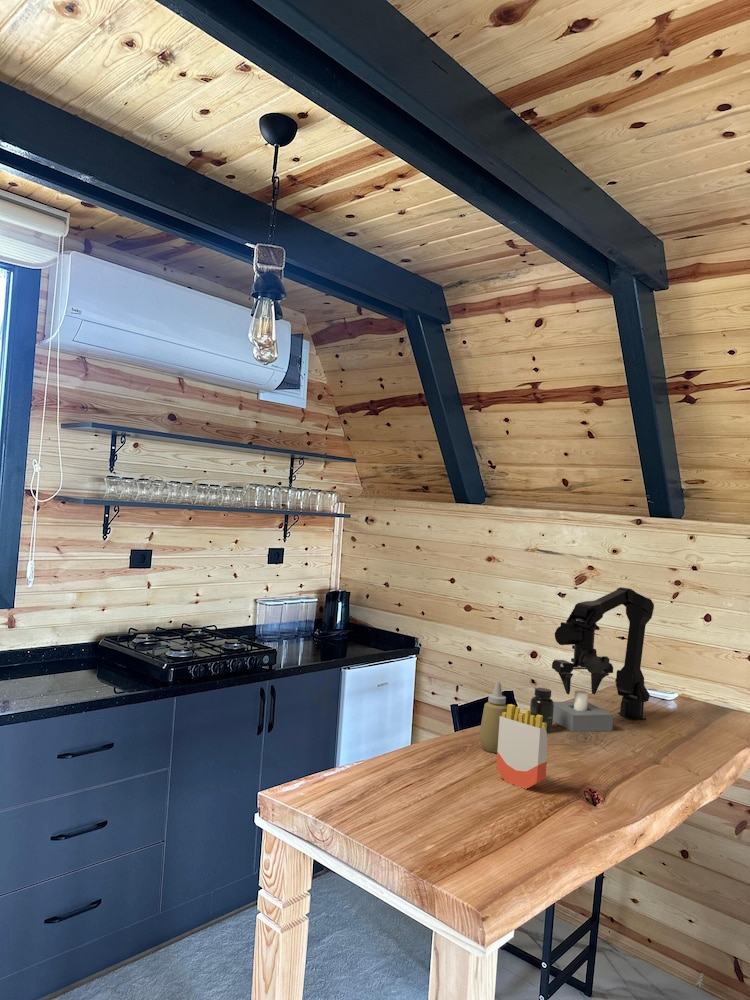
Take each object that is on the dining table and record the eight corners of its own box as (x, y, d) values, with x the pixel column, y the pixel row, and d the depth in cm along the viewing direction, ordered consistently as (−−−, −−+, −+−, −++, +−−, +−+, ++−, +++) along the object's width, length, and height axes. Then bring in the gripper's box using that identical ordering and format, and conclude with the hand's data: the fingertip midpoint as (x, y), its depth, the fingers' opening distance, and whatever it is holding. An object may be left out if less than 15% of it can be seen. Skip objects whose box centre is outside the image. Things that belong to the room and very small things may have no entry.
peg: (581, 722, 214) (583, 690, 214) (588, 726, 210) (590, 693, 211) (570, 722, 213) (572, 690, 213) (577, 726, 209) (579, 694, 209)
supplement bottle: (552, 734, 199) (555, 693, 200) (528, 731, 201) (531, 690, 201) (551, 727, 206) (554, 688, 206) (528, 724, 207) (531, 685, 208)
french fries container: (505, 773, 166) (510, 699, 166) (545, 788, 158) (550, 711, 158) (495, 778, 162) (500, 702, 163) (535, 793, 155) (540, 714, 155)
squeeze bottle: (510, 747, 185) (515, 681, 185) (506, 757, 177) (511, 688, 178) (481, 742, 188) (485, 677, 188) (475, 751, 180) (480, 683, 180)
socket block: (585, 716, 221) (586, 701, 221) (612, 731, 207) (613, 714, 207) (547, 717, 217) (548, 701, 217) (572, 732, 203) (573, 715, 203)
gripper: (572, 649, 202) (569, 701, 202) (626, 650, 207) (622, 701, 207) (552, 641, 212) (549, 691, 212) (603, 642, 218) (600, 691, 218)
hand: (580, 694), depth 212 cm, fingers open, 9 cm apart
